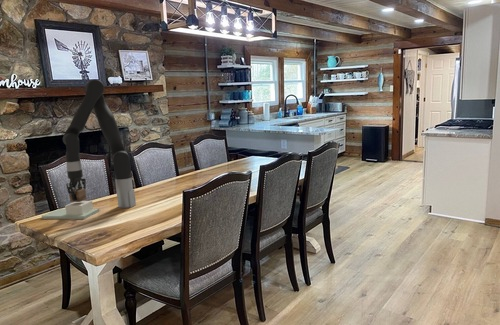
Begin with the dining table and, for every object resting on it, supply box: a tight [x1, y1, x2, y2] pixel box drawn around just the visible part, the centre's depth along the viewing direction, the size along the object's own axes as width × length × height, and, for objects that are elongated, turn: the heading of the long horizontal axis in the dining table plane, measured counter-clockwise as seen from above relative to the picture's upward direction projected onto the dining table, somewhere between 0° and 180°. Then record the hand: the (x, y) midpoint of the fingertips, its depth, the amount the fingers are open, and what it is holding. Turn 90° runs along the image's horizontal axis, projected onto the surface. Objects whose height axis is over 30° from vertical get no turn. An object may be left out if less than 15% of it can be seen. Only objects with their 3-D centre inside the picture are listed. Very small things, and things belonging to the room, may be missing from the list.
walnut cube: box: [68, 188, 87, 203], centre depth 212 cm, size 6×6×6 cm
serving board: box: [41, 208, 100, 220], centre depth 214 cm, size 26×14×2 cm, turn 80°
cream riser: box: [64, 200, 94, 215], centre depth 213 cm, size 10×10×5 cm
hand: (78, 198), depth 212 cm, fingers closed on walnut cube, 6 cm apart
